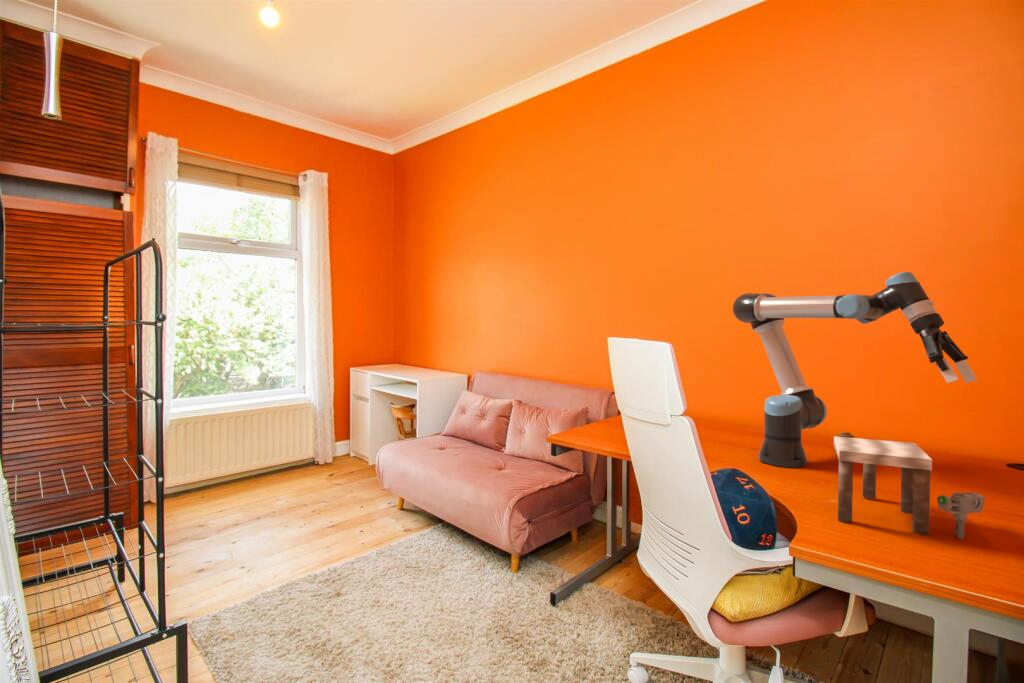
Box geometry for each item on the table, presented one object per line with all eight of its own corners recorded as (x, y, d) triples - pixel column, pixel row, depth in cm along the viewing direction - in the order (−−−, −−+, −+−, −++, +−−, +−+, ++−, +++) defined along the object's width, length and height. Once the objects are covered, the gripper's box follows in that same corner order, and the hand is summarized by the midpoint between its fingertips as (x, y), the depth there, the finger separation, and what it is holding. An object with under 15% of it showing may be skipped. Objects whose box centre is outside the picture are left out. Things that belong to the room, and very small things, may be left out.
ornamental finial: (836, 449, 197) (859, 452, 192) (831, 452, 192) (855, 456, 187) (836, 429, 197) (859, 431, 192) (832, 432, 192) (855, 435, 186)
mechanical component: (933, 535, 117) (934, 493, 116) (973, 534, 118) (974, 492, 117) (945, 541, 114) (946, 497, 113) (986, 539, 115) (987, 496, 114)
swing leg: (880, 508, 133) (881, 453, 133) (866, 506, 135) (867, 452, 134) (874, 496, 142) (875, 445, 142) (862, 494, 144) (862, 444, 143)
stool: (838, 522, 125) (839, 450, 125) (832, 499, 141) (833, 436, 140) (930, 536, 116) (932, 459, 116) (913, 511, 132) (915, 443, 132)
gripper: (918, 308, 145) (960, 375, 136) (953, 314, 158) (994, 376, 149) (891, 321, 151) (929, 386, 142) (927, 326, 163) (965, 386, 155)
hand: (962, 381), depth 145 cm, fingers open, 13 cm apart
